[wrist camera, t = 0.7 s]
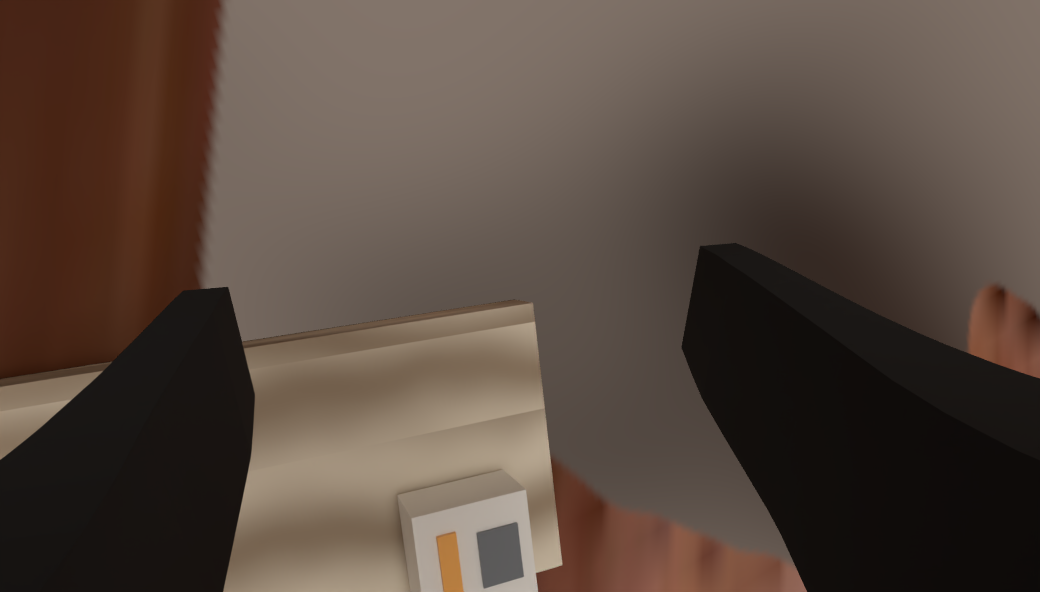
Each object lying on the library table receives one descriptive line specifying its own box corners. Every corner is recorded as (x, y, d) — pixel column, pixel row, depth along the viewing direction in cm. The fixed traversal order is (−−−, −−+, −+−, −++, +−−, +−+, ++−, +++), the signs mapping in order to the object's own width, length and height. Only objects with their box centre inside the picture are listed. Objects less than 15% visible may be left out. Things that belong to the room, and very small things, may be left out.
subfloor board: (542, 545, 38) (563, 565, 35) (-184, 751, 27) (-226, 800, 25) (514, 299, 36) (533, 303, 34) (-262, 419, 26) (-314, 437, 24)
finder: (514, 571, 34) (540, 601, 31) (411, 601, 32) (428, 636, 29) (502, 469, 34) (527, 490, 31) (396, 494, 32) (412, 520, 29)
